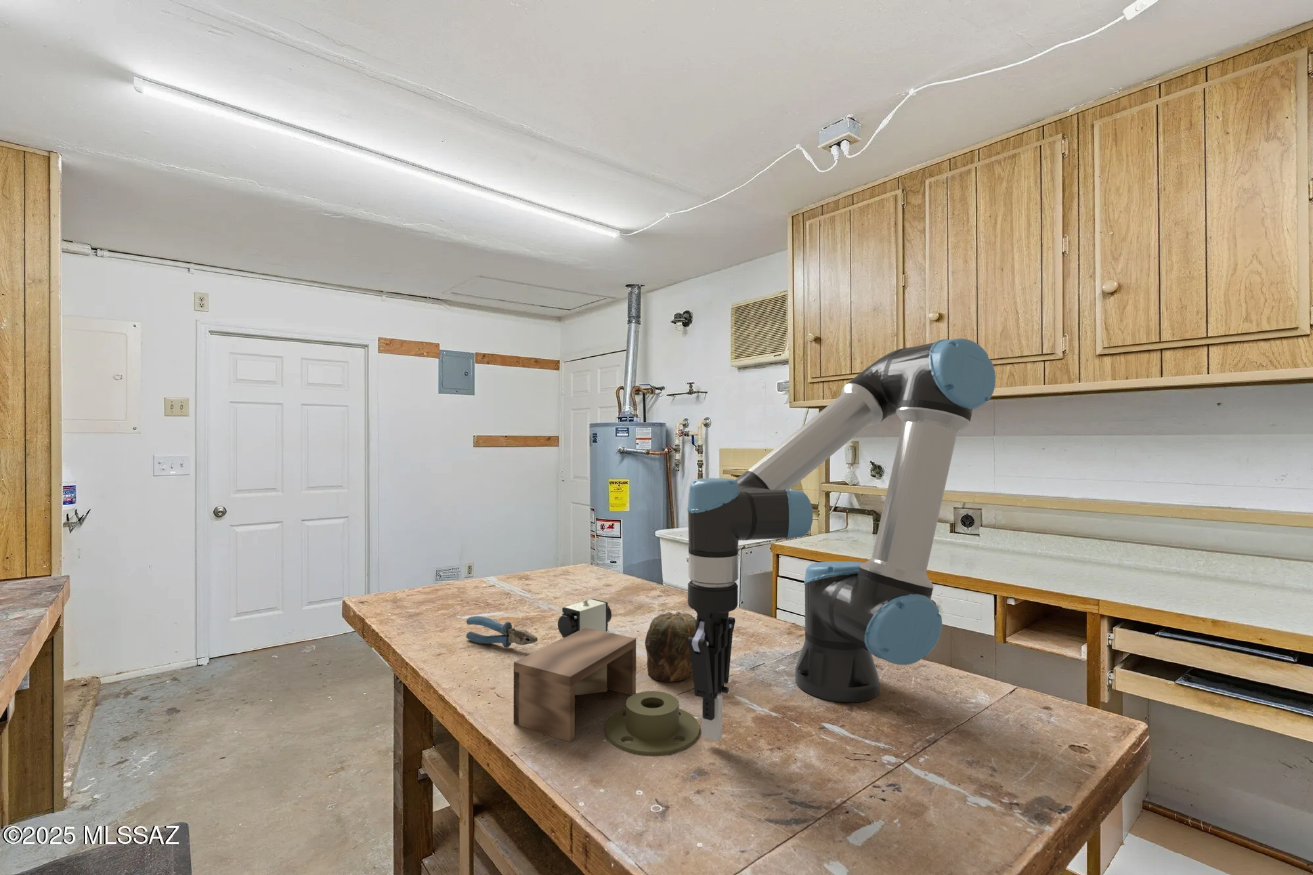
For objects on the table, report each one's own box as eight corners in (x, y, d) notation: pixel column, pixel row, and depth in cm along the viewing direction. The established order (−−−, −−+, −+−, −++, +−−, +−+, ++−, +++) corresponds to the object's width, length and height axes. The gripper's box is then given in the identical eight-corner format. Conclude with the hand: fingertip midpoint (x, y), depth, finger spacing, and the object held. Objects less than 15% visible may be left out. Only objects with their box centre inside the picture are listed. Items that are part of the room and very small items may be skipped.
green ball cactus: (697, 688, 108) (697, 624, 108) (639, 683, 110) (640, 620, 110) (704, 665, 118) (704, 607, 118) (651, 661, 120) (651, 603, 120)
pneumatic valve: (612, 650, 126) (612, 595, 126) (572, 667, 117) (572, 608, 117) (594, 644, 130) (594, 591, 130) (554, 660, 121) (554, 603, 121)
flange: (585, 703, 92) (654, 737, 82) (650, 675, 103) (718, 701, 93) (585, 732, 92) (654, 770, 82) (650, 701, 103) (718, 730, 93)
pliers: (539, 653, 125) (539, 626, 125) (532, 657, 123) (532, 629, 123) (471, 638, 134) (471, 612, 134) (464, 640, 132) (464, 615, 132)
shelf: (635, 693, 106) (636, 638, 106) (569, 741, 89) (570, 676, 89) (584, 679, 111) (584, 627, 111) (513, 723, 94) (513, 662, 94)
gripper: (707, 569, 95) (706, 713, 95) (670, 587, 84) (669, 750, 84) (751, 575, 91) (750, 724, 91) (719, 594, 80) (717, 765, 80)
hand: (711, 736), depth 88 cm, fingers closed
